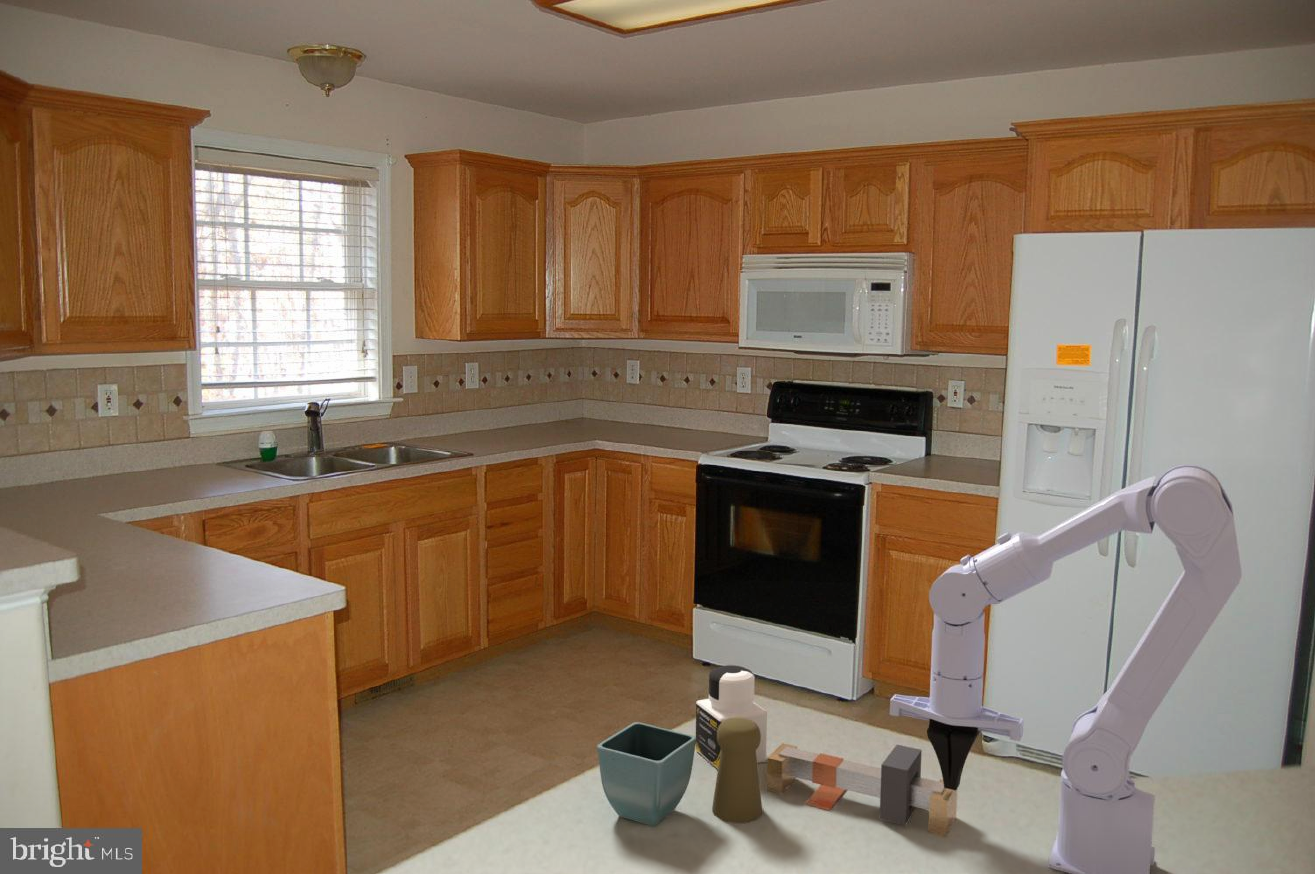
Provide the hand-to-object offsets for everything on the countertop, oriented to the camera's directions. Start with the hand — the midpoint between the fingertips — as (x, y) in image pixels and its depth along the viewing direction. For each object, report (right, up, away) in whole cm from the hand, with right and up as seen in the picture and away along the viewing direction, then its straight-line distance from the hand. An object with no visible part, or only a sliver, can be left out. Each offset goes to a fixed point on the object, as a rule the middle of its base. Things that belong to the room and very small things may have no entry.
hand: (951, 785), depth 112 cm
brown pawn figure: (-24, -5, +4) cm, 25 cm away
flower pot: (-35, -5, +3) cm, 36 cm away
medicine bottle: (-24, -3, +19) cm, 31 cm away
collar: (-5, -5, +3) cm, 8 cm away
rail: (-9, -4, +6) cm, 12 cm away
